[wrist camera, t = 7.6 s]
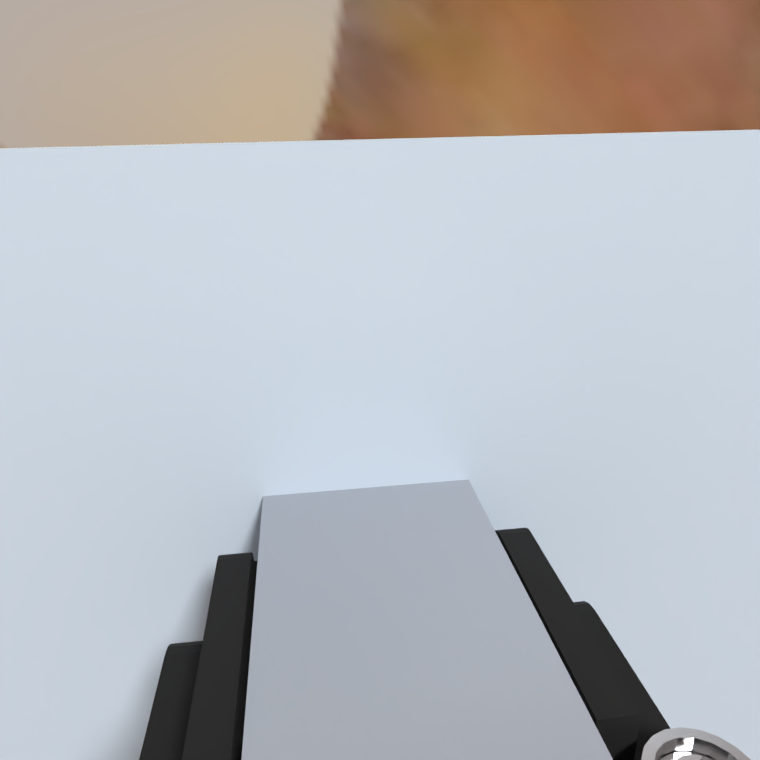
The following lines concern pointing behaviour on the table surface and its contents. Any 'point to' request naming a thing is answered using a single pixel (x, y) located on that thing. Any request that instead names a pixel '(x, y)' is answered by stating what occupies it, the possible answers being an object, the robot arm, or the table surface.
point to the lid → (380, 434)
